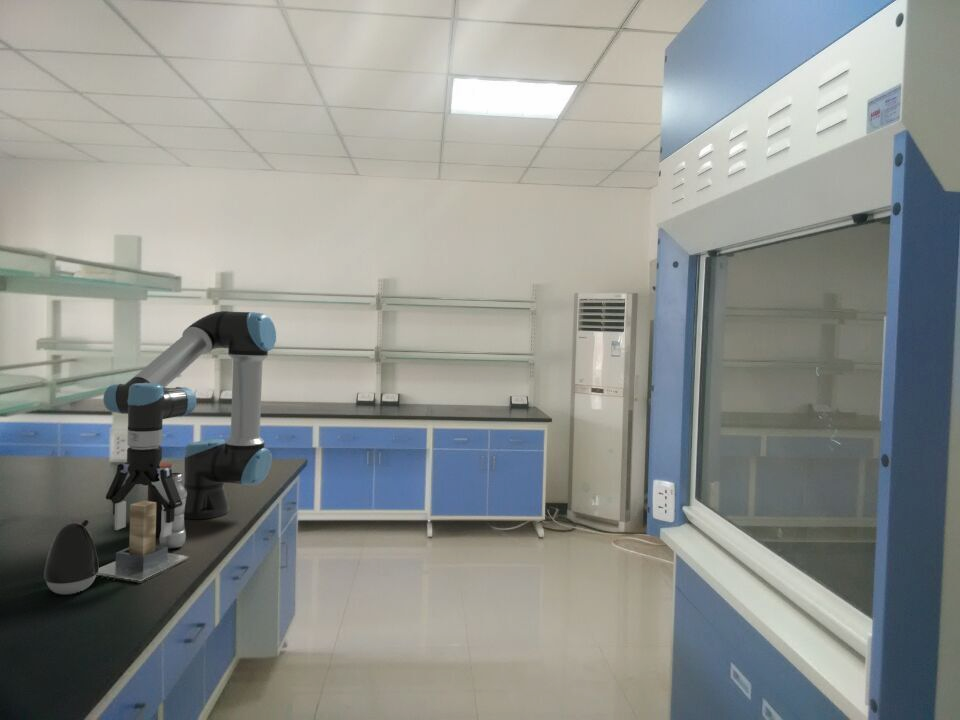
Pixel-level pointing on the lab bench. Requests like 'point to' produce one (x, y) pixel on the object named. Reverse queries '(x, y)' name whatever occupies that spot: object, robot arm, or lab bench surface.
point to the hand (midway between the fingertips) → (143, 531)
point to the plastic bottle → (176, 518)
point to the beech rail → (142, 527)
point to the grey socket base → (140, 564)
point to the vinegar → (157, 501)
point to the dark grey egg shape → (71, 560)
